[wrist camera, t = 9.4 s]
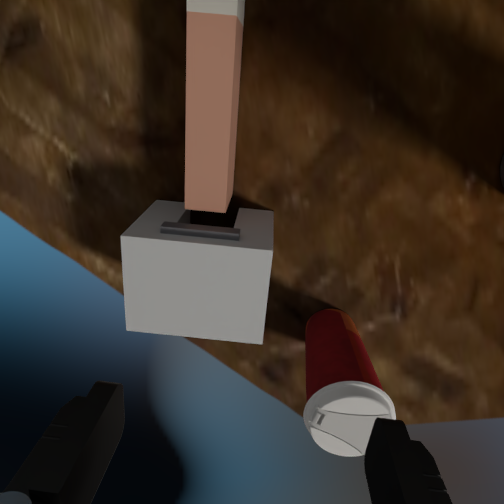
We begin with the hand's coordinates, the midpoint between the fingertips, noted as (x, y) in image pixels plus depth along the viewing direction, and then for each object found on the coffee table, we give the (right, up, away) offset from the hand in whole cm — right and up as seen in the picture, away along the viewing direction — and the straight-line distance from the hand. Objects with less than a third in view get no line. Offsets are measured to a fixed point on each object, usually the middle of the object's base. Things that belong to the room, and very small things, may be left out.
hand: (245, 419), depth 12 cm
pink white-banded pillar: (-3, +19, +23) cm, 30 cm away
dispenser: (-4, +6, +29) cm, 30 cm away
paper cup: (+9, -3, +32) cm, 34 cm away
